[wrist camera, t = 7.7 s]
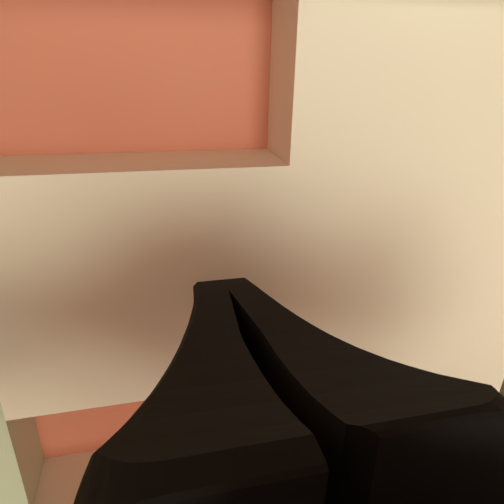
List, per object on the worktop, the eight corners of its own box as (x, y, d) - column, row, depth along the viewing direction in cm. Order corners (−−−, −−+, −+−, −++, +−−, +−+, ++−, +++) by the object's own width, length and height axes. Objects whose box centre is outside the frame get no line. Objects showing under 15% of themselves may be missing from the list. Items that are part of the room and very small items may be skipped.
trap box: (445, 399, 21) (509, 473, 17) (-171, 504, 15) (-262, 642, 12) (554, -20, 14) (700, -43, 10) (-497, -90, 8) (-954, -187, 5)
